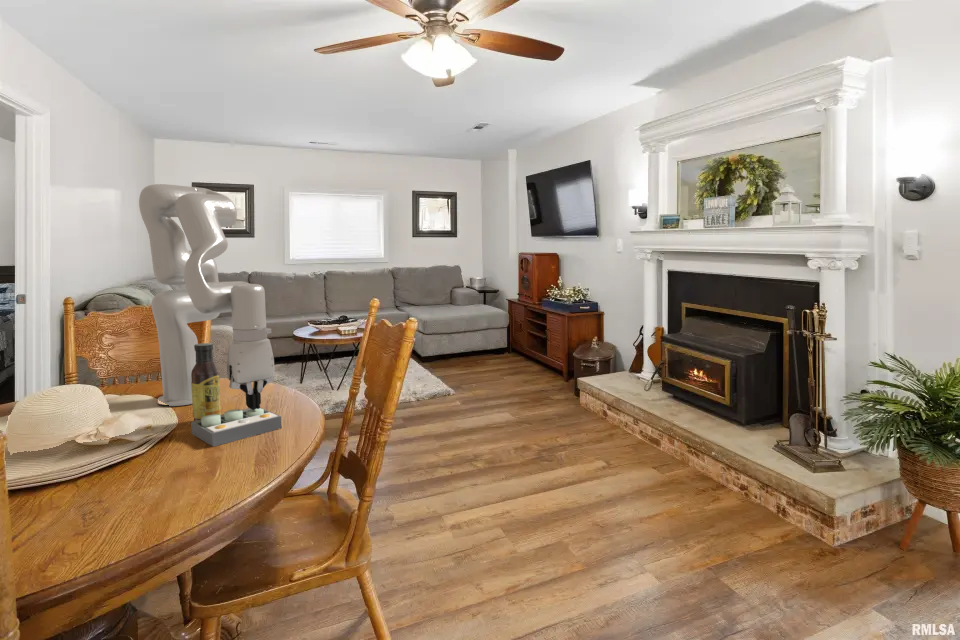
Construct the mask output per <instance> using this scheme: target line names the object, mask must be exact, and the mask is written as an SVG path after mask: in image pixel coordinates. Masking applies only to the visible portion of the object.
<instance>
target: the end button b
mask: <svg viewBox="0 0 960 640" xmlns="http://www.w3.org/2000/svg"><path fill="white" fill-rule="evenodd" d="M261 408H262V407H260V408H259V409H255V410H252V409H250V410H247V411H246V415H247V416H249V417H252V416H256V415H260V414H264V409H265V408H263V409H261Z"/></svg>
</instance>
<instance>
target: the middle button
mask: <svg viewBox="0 0 960 640" xmlns="http://www.w3.org/2000/svg"><path fill="white" fill-rule="evenodd" d="M242 410H243V409H238V408H237V409H229V410H226V411H225V412H224V413H223V414H224V417H225V421H226V422H231V421H235V420H240V419H243V411H242Z"/></svg>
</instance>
